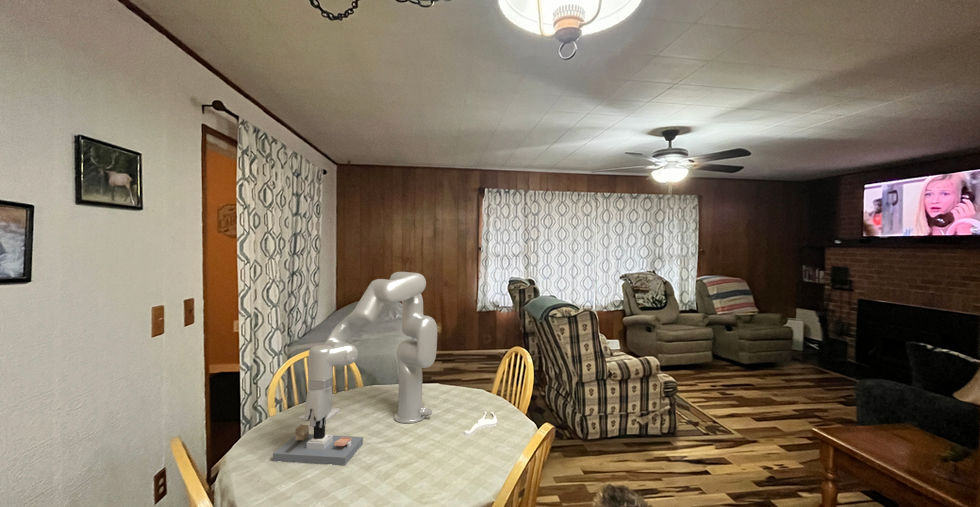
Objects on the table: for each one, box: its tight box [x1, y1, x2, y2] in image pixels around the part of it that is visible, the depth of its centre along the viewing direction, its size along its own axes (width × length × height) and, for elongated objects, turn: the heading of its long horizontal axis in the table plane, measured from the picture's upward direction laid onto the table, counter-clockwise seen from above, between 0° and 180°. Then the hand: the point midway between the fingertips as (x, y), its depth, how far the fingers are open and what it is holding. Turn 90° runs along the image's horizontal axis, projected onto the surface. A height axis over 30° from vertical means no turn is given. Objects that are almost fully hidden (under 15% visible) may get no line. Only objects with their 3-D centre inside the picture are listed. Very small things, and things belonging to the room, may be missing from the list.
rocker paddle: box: [334, 437, 352, 446], centre depth 132 cm, size 3×6×2 cm, turn 175°
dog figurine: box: [461, 410, 498, 437], centre depth 156 cm, size 2×13×20 cm
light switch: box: [296, 407, 341, 421], centre depth 163 cm, size 11×4×13 cm
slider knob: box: [295, 424, 310, 440], centre depth 136 cm, size 3×3×4 cm
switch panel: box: [272, 433, 364, 466], centre depth 132 cm, size 24×14×4 cm, turn 85°
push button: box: [311, 434, 330, 443], centre depth 132 cm, size 4×4×2 cm
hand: (319, 437), depth 132 cm, fingers closed
